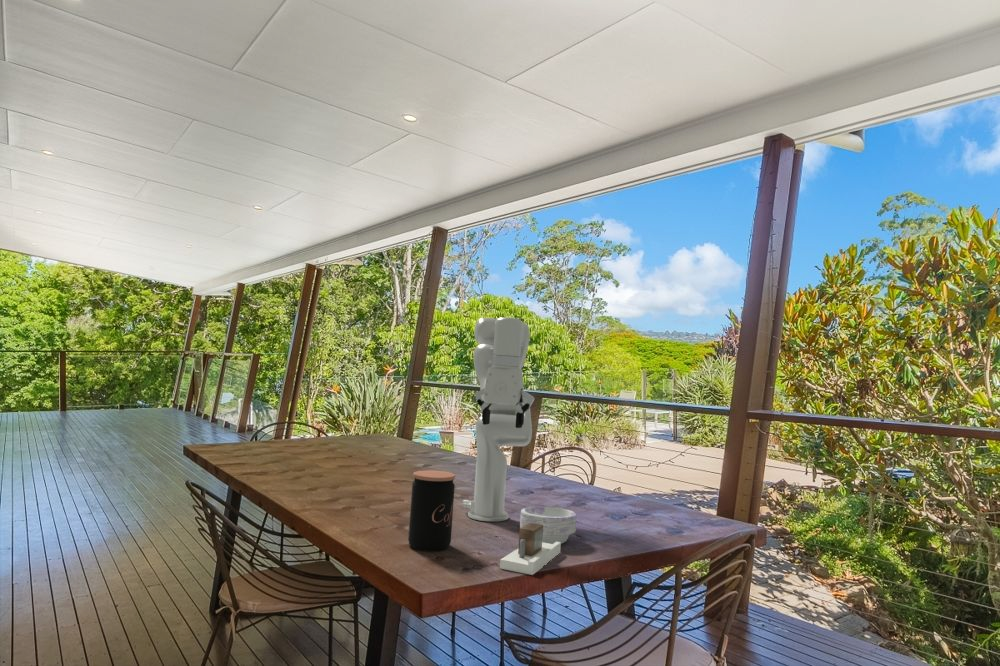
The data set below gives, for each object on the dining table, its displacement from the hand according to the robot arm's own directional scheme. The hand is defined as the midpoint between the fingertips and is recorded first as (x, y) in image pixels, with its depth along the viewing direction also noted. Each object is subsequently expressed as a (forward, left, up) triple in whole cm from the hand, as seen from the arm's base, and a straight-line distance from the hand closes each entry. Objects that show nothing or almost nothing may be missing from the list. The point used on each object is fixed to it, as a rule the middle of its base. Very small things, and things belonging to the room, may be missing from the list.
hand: (502, 425), depth 168 cm
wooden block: (+14, -12, -28) cm, 34 cm away
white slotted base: (+15, -12, -30) cm, 36 cm away
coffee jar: (-11, -16, -31) cm, 36 cm away
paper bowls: (+12, +8, -31) cm, 34 cm away
